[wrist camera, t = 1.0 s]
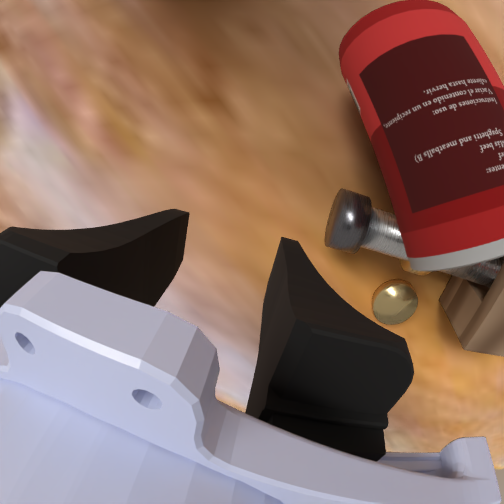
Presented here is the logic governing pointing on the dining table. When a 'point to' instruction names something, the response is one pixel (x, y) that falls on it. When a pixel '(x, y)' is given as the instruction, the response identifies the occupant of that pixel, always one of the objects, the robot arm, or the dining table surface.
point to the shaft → (385, 236)
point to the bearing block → (476, 313)
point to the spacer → (394, 301)
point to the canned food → (432, 129)
